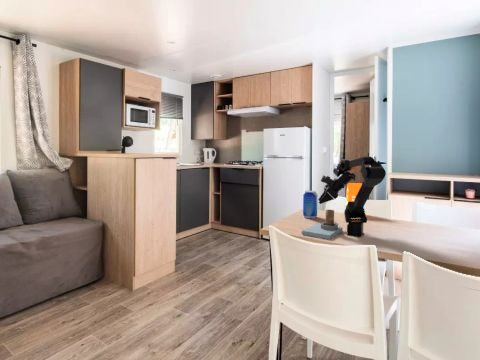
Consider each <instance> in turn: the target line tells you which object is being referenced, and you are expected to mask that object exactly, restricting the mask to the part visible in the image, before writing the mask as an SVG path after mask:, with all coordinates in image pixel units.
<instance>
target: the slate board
mask: <svg viewBox="0 0 480 360" xmlns="http://www.w3.org/2000/svg"><path fill="white" fill-rule="evenodd" d="M325 223H326V221H325V222H320V223H315V224H313V225H310V226H309V227H308V226H307V228H304V229H302V230H301V235H302V234H304V235H303V236H307V235H309V236H308V237H313V236H314V238H318V237H319V238H320V239H323V238H324V239H323V240H331V239H333V238H334V237H335V236H338V235H339V234H341V233H343V230H344V229H343V227H340V226H339V225H338V223H335V222H334V226H327V225H325ZM319 238H318V239H319Z"/></svg>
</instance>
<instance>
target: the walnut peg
mask: <svg viewBox="0 0 480 360" xmlns="http://www.w3.org/2000/svg"><path fill="white" fill-rule="evenodd" d="M325 222H326V223H325V225H327V226H334V223H335V210H334V209H325Z"/></svg>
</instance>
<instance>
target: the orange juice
mask: <svg viewBox="0 0 480 360" xmlns="http://www.w3.org/2000/svg"><path fill="white" fill-rule="evenodd" d="M362 183H363V182H362ZM362 183H361V182H358V183H357V182H356V183H355V182H349V183H348V184H347V185H346V192H345V193H346V197H345V198H346V200H345V207H346V206H347V204H348V202H349V201H354V200H355V198H356V195H357V193H358V191H359V189H360V187H361V185H362Z"/></svg>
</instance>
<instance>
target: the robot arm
mask: <svg viewBox="0 0 480 360" xmlns="http://www.w3.org/2000/svg"><path fill="white" fill-rule="evenodd" d="M358 168H360V170H359V172H360V174H361V176H362V179H363V182H362V185H361V187H360V189H359V191H358V193H357V195H356V198H355V200H354V201H349V202H348V204H347V206H346V205H345V209H344V220H345V223H347V225H346V226H347V227H346V235H347V236H352V237H357V238H361V237H362V236H364V235H365V233H364V223H365V224H367V222H368V217H367V215H366V212H365V211H366V210H365V204H366V202H367V201H368V199H369V197H370V195H371V194H372V192H373V190H374V189H375V187H376V186H377V185H380V184H381V183H382V181H383V180H384V179H385V178H386V175H387V172H386V170H385V168H384V167H383V165H382V164H381V163H380V162H378V161H377V160H376V159H374V157H373V156H361V157H358V158H354V159H349V158H348V159H341V160H340V162H339V163H337V165H336V166H334V167H333V170H332V171H333V172H332V173H333V174H334V175H335V177H337V178H334V179H332V178H331V177H330V176H329V175H327V176H326V175H322V176H321V177H322V178H321V179H320V182H322V183H325V185H324V187H323V188H324V189H323V192H322V194H321V195H320V196H319V198H317V201H319V202H318V203H319V204H320V205H321V204H324V203H328V202H331V201H333V200H336V199H337V198H338V197H339V192H340V191H341V190H342V189H344V188H345V187H347V185H348V183H351V181H352V180H353V181H355V180H356V174H355V173H354V172H355V171H356V170H357V169H358ZM351 171H352V172H351Z"/></svg>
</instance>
